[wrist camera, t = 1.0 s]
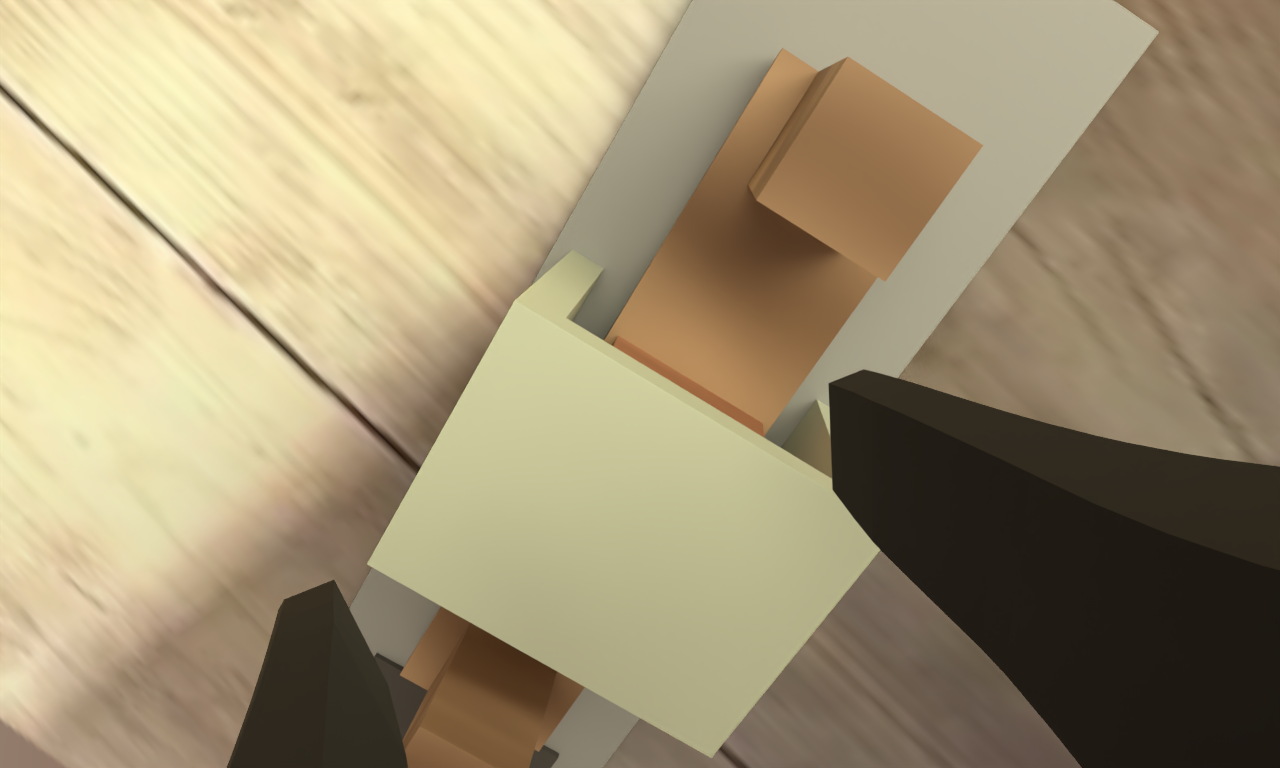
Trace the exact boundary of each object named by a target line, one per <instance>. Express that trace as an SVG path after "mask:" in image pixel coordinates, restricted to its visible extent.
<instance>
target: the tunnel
mask: <svg viewBox="0 0 1280 768" xmlns="http://www.w3.org/2000/svg"><path fill="white" fill-rule="evenodd" d="M603 270H604V268H602V267H600V266H599V265H597V264H595V263H594V262H592V261H591V260H589V259H587V258H586V257H584V256H582V255H581V254H579V253H578V252H576V251H574V250H572V251H571V252H569V253H568V254H567V255H566V256H565V257H564V258H563V259H561V260H560V261H559V262H558V263H557V264H556V265H555V266H553V267H552V268H551V269H550V270H549V271H548V272H547V273H545V274H544V275H543V276H542V277H541V278H540V279H539V280H537V281H536V282H535V283H534V284H533V285H532V286H531V287H529V288H528V289H527V290H526V291H525V292H524V293H523V294H521V295H520V296H519V297H518V298H517V299H516V300H515V301H514V303H513V304H512V306H511V308H510V310H509V311H508V313H507V315H506V317H505V319H504V320H503V322H502V324H501V326H500V328H499V329H498V331H497V333H496V335H495V336H494V338H493V340H492V342H491V344H490V345H489V347H488V349H487V351H486V353H485V354H484V356H483V358H482V360H481V361H480V363H479V365H478V367H477V369H476V370H475V372H474V374H473V376H472V377H471V379H470V381H469V383H468V385H467V386H466V388H465V390H464V392H463V394H462V395H461V397H460V399H459V401H458V402H457V404H456V406H455V408H454V410H453V411H452V413H451V415H450V417H449V419H448V420H447V422H446V424H445V426H444V427H443V429H442V431H441V433H440V435H439V436H438V438H437V440H436V442H435V443H434V445H433V447H432V449H431V451H430V452H429V454H428V456H427V458H426V460H425V461H424V463H423V465H422V467H421V468H420V470H419V472H418V474H417V476H416V477H415V479H414V481H413V483H412V485H411V486H410V488H409V490H408V492H407V493H406V495H405V497H404V499H403V501H402V502H401V504H400V506H399V508H398V509H397V511H396V513H395V515H394V517H393V518H392V520H391V522H390V524H389V526H388V527H387V529H386V531H385V533H384V534H383V536H382V538H381V540H380V542H379V543H378V545H377V547H376V549H375V551H374V552H373V554H372V556H371V558H370V559H369V561H368V563H367V565H369V566H371V567H373V568H374V569H376V570H378V571H380V572H381V573H383V574H385V575H387V576H389V577H390V578H392V579H394V580H396V581H397V582H399V583H401V584H403V585H404V586H406V587H408V588H410V589H412V590H413V591H415V592H417V593H419V594H420V595H422V596H424V597H426V598H428V599H429V600H431V601H433V602H435V603H436V604H438V605H440V606H442V607H444V608H445V609H447V610H449V611H451V612H452V613H454V614H456V615H458V616H460V617H461V618H463V619H465V620H467V621H468V622H470V623H472V624H474V625H476V626H477V627H479V628H481V629H483V630H484V631H486V632H488V633H490V634H492V635H493V636H495V637H497V638H499V639H500V640H502V641H504V642H506V643H508V644H509V645H511V646H513V647H515V648H516V649H518V650H520V651H522V652H524V653H525V654H527V655H529V656H531V657H532V658H534V659H536V660H538V661H540V662H541V663H543V664H545V665H547V666H548V667H550V668H552V669H554V670H556V671H557V672H559V673H561V674H563V675H564V676H566V677H568V678H570V679H572V680H573V681H575V682H577V683H579V684H580V685H582V686H584V687H586V688H588V689H589V690H591V691H593V692H595V693H596V694H598V695H600V696H602V697H604V698H605V699H607V700H609V701H611V702H612V703H614V704H616V705H618V706H620V707H621V708H623V709H625V710H627V711H628V712H630V713H632V714H634V715H636V716H637V717H639V718H641V719H643V720H644V721H646V722H648V723H650V724H652V725H653V726H655V727H657V728H659V729H660V730H662V731H664V732H666V733H668V734H669V735H671V736H673V737H675V738H676V739H678V740H680V741H682V742H684V743H685V744H687V745H689V746H691V747H692V748H694V749H696V750H698V751H699V752H701V753H703V754H705V755H707V756H708V757H710V758H712V757H713V755H714V754H715V753H716V752H717V750H718V749H719V748H720V747H721V745H722V744H723V743H724V742H725V741H726V739H727V738H728V737H729V736H730V734H731V733H732V732H733V731H734V729H735V728H736V727H737V726H738V725H739V723H740V722H741V721H742V720H743V718H744V717H745V716H746V715H747V713H748V712H749V711H750V710H751V709H752V707H753V706H754V705H755V704H756V702H757V701H758V700H759V699H760V697H761V696H762V695H763V694H764V693H765V691H766V690H767V689H768V688H769V686H770V685H771V684H772V683H773V681H774V680H775V679H776V678H777V677H778V675H779V674H780V673H781V672H782V670H783V669H784V668H785V667H786V665H787V664H788V663H789V662H790V661H791V659H792V658H793V657H794V656H795V654H796V653H797V652H798V651H799V649H800V648H801V647H802V646H803V645H804V643H805V642H806V641H807V640H808V638H809V637H810V636H811V635H812V633H813V632H814V631H815V630H816V629H817V627H818V626H819V625H820V624H821V622H822V621H823V620H824V619H825V617H826V616H827V615H828V614H829V613H830V611H831V610H832V609H833V608H834V606H835V605H836V604H837V603H838V601H839V600H840V599H841V598H842V597H843V595H844V594H845V593H846V592H847V590H848V589H849V588H850V587H851V585H852V584H853V583H854V582H855V581H856V579H857V578H858V577H859V576H860V574H861V573H862V572H863V571H864V569H865V568H866V567H867V566H868V565H869V563H870V562H871V561H872V560H873V558H874V557H875V556H876V555H877V553H878V552H879V551H880V549H879V548H878V547H877V546H876V545H875V544H874V543H873V542H872V540H871V539H870V538H869V537H868V535H867V534H866V533H865V532H864V530H863V529H862V528H861V527H860V525H859V524H858V523H857V522H856V520H855V519H854V518H853V517H852V515H851V514H850V513H849V511H848V510H847V509H846V507H845V506H844V504H843V503H842V502H841V500H840V499H839V498H838V496H837V495H836V494H835V492H834V491H833V490H832V463H831V437H830V411H829V407H828V406H827V405H825V404H823V403H822V402H820V401H819V400H817V399H816V401H815V402H814V404H813V405H812V406H811V408H810V409H809V410H808V412H807V413H806V415H805V416H804V417H803V419H802V420H801V421H800V423H799V424H798V426H797V427H796V428H795V430H794V431H793V432H792V434H791V435H790V437H789V438H788V439H787V441H786V442H785V443H784V445H783V446H782V448H780V447H779V446H777V445H775V444H774V443H772V442H770V441H769V440H767V439H765V438H764V437H762V436H760V435H759V434H757V433H755V432H754V431H752V430H751V429H749V428H747V427H746V426H744V425H742V424H741V423H739V422H737V421H736V420H734V419H732V418H731V417H729V416H727V415H726V414H724V413H722V412H721V411H719V410H717V409H716V408H714V407H713V406H711V405H709V404H708V403H706V402H704V401H703V400H701V399H699V398H698V397H696V396H694V395H693V394H691V393H689V392H688V391H686V390H684V389H683V388H681V387H679V386H678V385H676V384H675V383H673V382H671V381H670V380H668V379H666V378H665V377H663V376H661V375H660V374H658V373H656V372H655V371H653V370H651V369H650V368H648V367H646V366H645V365H643V364H642V363H640V362H638V361H637V360H635V359H633V358H632V357H630V356H628V355H627V354H625V353H623V352H622V351H620V350H618V349H617V348H615V347H613V346H612V345H610V344H608V343H607V342H605V341H604V340H602V339H600V338H599V337H597V336H595V335H594V334H592V333H590V332H589V331H587V330H585V329H584V328H582V327H580V326H579V325H577V324H575V323H574V322H573V320H574V319H575V317H576V315H577V314H578V312H579V310H580V308H581V307H582V305H583V303H584V302H585V300H586V298H587V297H588V295H589V293H590V292H591V290H592V288H593V287H594V285H595V283H596V281H597V280H598V278H599V276H600V275H601V273H602V271H603Z"/></svg>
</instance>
